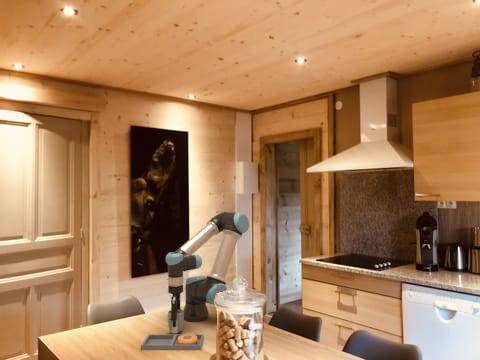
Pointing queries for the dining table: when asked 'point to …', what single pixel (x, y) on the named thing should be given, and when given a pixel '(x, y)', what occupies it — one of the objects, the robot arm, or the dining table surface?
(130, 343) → the dining table surface
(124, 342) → the dining table surface
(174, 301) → the robot arm
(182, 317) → the cup
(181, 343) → the orange round thick disc
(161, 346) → the tray
